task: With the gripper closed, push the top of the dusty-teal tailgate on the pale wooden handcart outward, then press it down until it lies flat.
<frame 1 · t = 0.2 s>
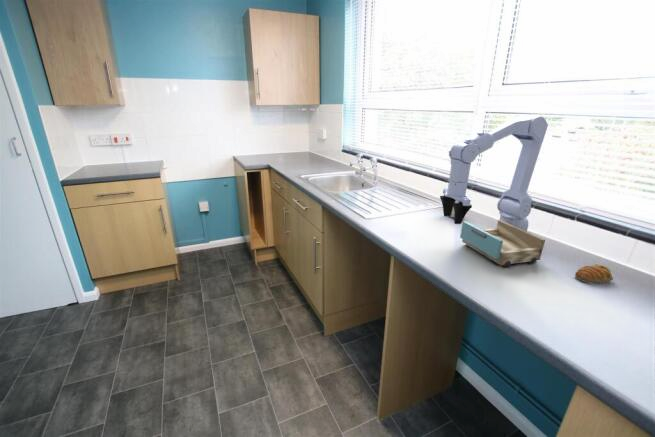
hand: (452, 219, 107), 10 cm above the countertop, tool pointing down, fingers open, 7 cm apart
supplement bottle: (454, 216, 142), on the countertop
tailgate: (479, 238, 101), point 6 cm above the countertop, hinge at 0.0°
cart: (497, 253, 106), on the countertop
pastry: (592, 279, 91), on the countertop
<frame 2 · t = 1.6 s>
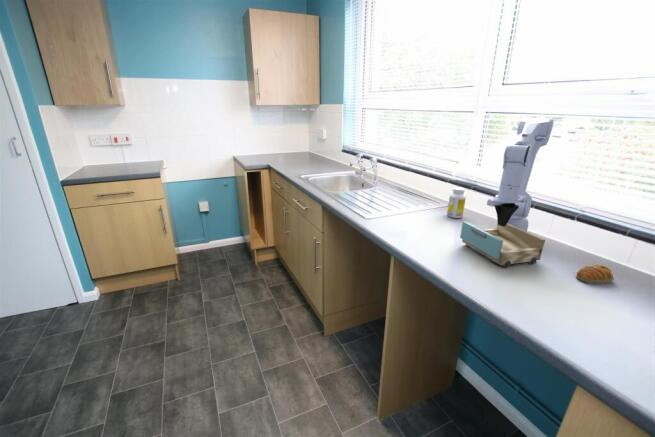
hand: (501, 225, 102), 10 cm above the countertop, tool pointing down, fingers closed
nothing on the countertop moved.
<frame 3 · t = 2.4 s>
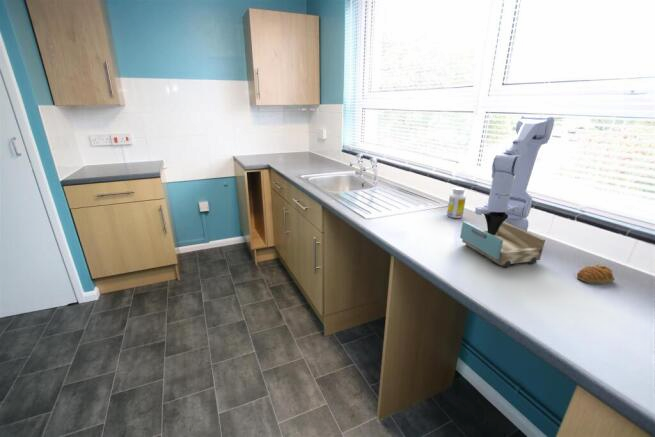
hand: (491, 233, 102), 8 cm above the countertop, tool pointing down, fingers closed
nothing on the countertop moved.
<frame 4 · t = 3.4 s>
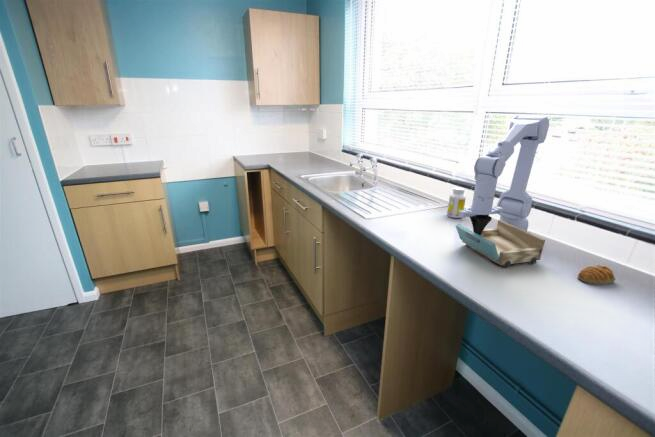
hand: (476, 236, 101), 7 cm above the countertop, tool pointing down, fingers closed, pressing on tailgate
tailgate: (475, 241, 101), point 5 cm above the countertop, hinge at 28.2°, touching gripper
everything else where it was.
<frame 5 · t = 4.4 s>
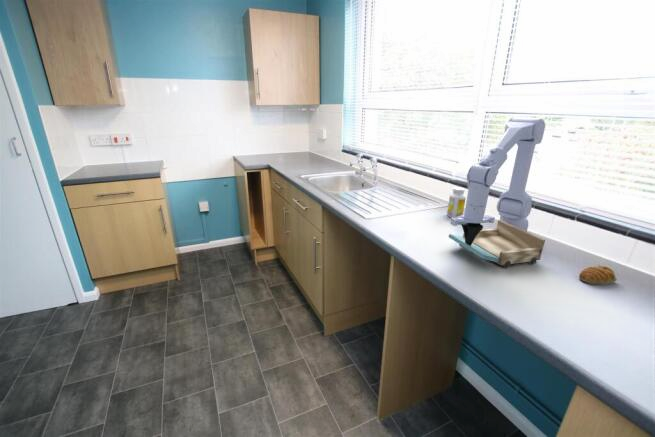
hand: (468, 244, 101), 5 cm above the countertop, tool pointing down, fingers closed, pressing on tailgate
tailgate: (471, 247, 102), point 3 cm above the countertop, hinge at 72.3°, touching gripper
everything else where it was.
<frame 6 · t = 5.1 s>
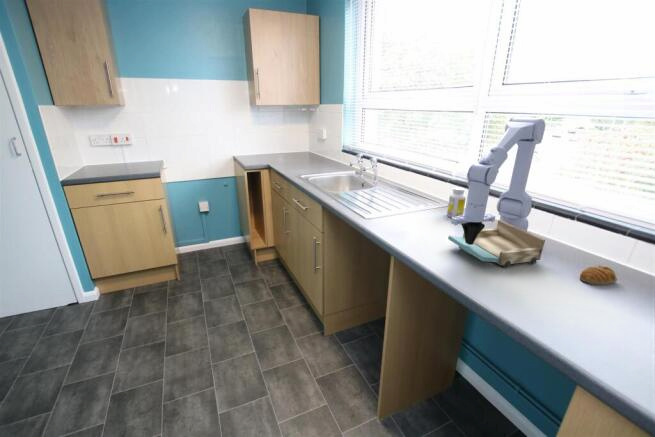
hand: (469, 243, 101), 5 cm above the countertop, tool pointing down, fingers closed
tailgate: (471, 248, 102), point 3 cm above the countertop, hinge at 79.0°
everything else where it was.
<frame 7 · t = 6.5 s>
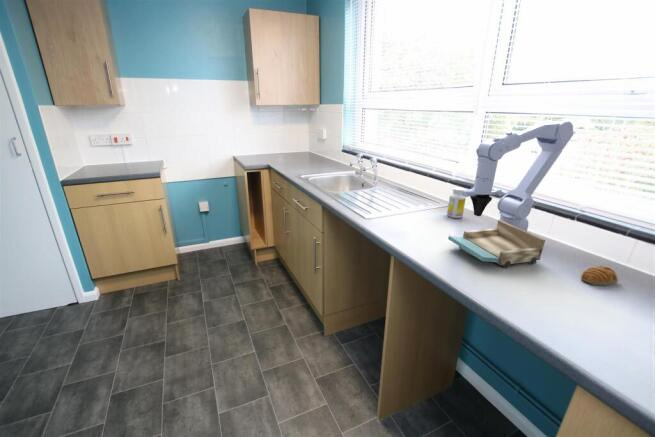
hand: (477, 215, 111), 10 cm above the countertop, tool pointing down, fingers closed
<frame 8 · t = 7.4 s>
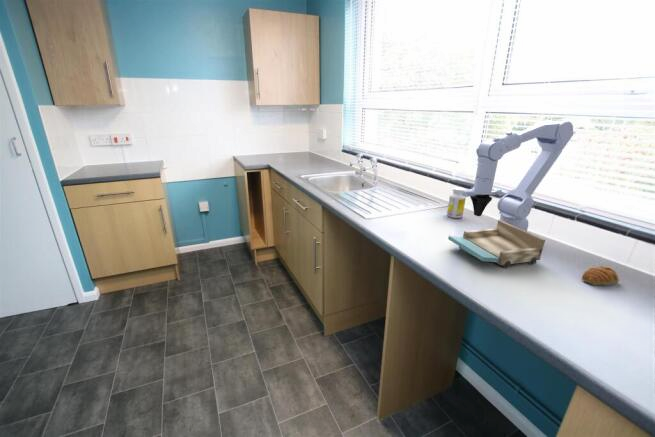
hand: (477, 215, 111), 10 cm above the countertop, tool pointing down, fingers closed
at the end: tailgate at +79° (first picture: +0°); pastry moved 1.7 cm from its start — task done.
